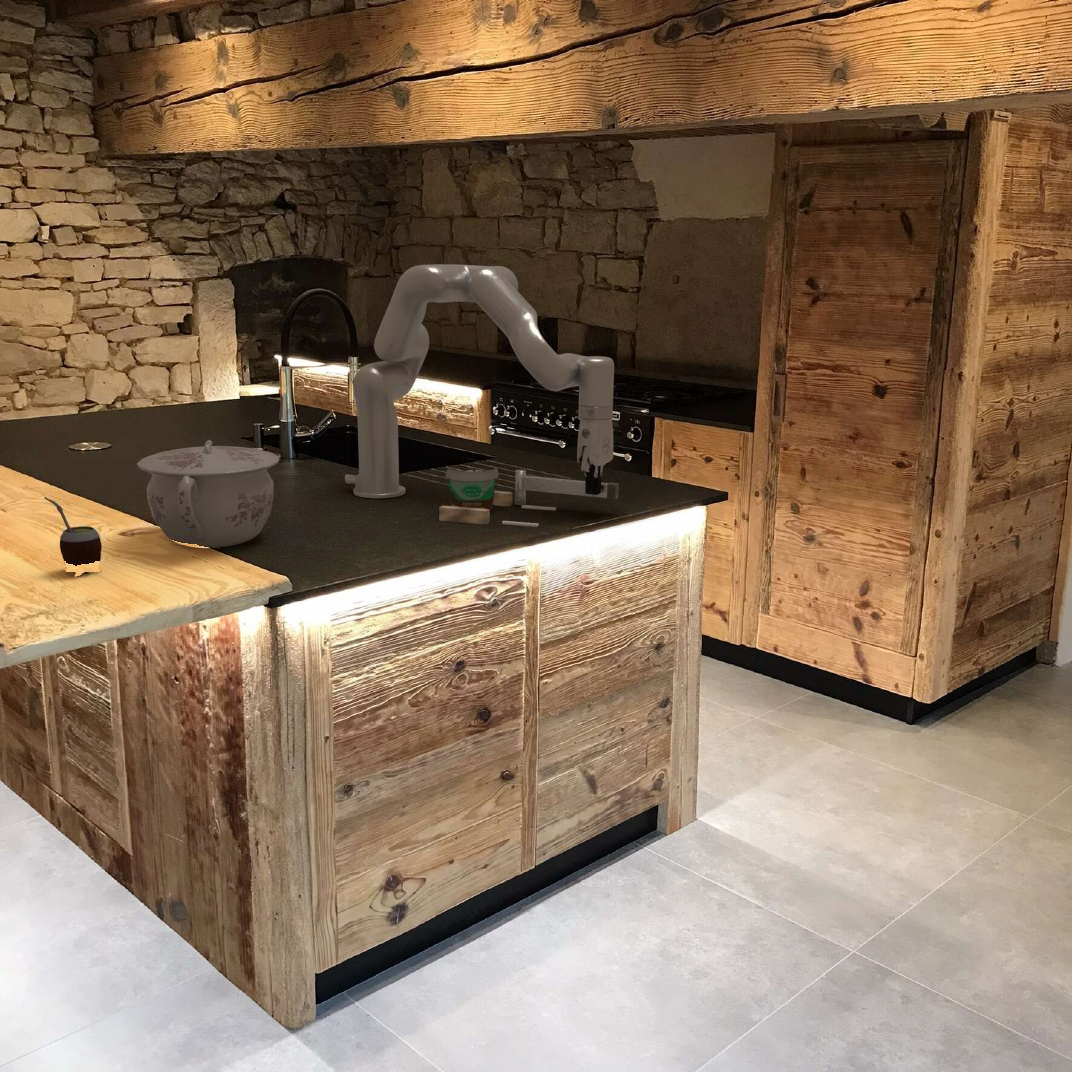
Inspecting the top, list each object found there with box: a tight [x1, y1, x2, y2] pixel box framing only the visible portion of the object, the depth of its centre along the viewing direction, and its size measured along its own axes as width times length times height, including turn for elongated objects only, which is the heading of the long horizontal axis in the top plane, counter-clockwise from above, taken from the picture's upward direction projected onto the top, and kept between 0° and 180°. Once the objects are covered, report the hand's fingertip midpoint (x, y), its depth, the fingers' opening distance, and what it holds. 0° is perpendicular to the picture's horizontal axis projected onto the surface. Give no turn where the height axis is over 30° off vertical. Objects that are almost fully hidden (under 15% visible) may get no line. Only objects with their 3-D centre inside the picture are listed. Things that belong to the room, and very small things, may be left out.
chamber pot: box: [136, 439, 281, 547], centre depth 220 cm, size 28×28×21 cm
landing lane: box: [501, 504, 557, 528], centre depth 246 cm, size 8×17×1 cm, turn 165°
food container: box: [445, 466, 500, 513], centre depth 248 cm, size 12×6×10 cm, turn 105°
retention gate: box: [514, 469, 620, 506], centre depth 252 cm, size 2×25×8 cm, turn 69°
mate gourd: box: [44, 496, 103, 566], centre depth 198 cm, size 8×8×15 cm
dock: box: [438, 490, 513, 526], centre depth 249 cm, size 11×20×3 cm, turn 165°
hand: (592, 493), depth 246 cm, fingers closed
